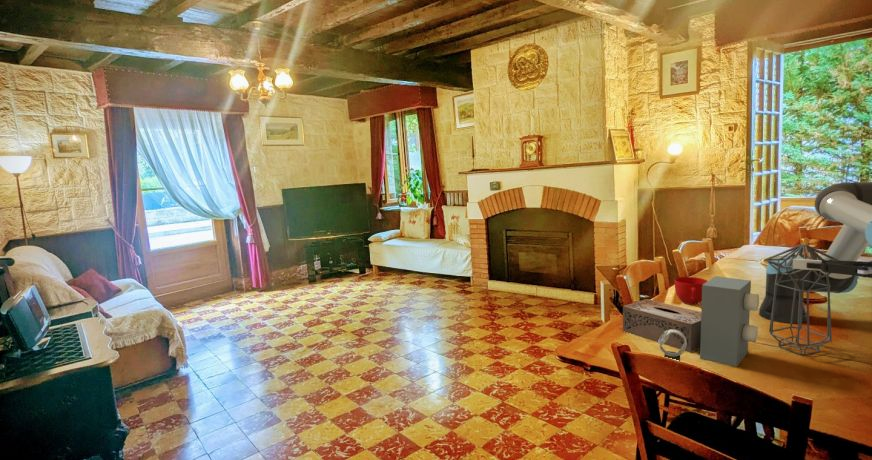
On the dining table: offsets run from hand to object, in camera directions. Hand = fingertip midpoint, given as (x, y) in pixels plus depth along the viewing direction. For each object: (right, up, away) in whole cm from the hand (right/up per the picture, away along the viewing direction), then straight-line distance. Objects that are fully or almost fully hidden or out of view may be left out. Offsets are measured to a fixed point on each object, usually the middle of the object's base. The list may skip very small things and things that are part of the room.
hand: (793, 263), depth 136 cm
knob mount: (-11, -31, +15) cm, 36 cm away
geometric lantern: (+14, -30, +17) cm, 37 cm away
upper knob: (-9, -15, +10) cm, 20 cm away
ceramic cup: (+8, -23, +69) cm, 73 cm away
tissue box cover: (-21, -29, +33) cm, 49 cm away
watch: (-30, -32, +10) cm, 45 cm away
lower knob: (-9, -24, +11) cm, 28 cm away
